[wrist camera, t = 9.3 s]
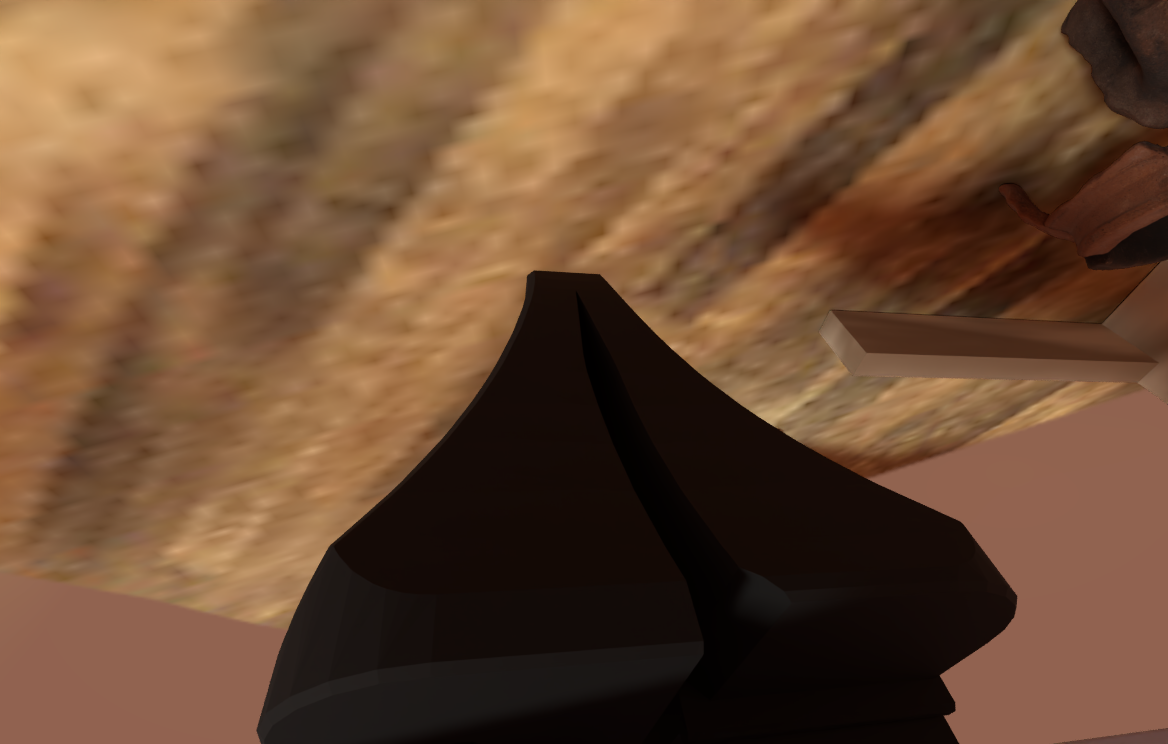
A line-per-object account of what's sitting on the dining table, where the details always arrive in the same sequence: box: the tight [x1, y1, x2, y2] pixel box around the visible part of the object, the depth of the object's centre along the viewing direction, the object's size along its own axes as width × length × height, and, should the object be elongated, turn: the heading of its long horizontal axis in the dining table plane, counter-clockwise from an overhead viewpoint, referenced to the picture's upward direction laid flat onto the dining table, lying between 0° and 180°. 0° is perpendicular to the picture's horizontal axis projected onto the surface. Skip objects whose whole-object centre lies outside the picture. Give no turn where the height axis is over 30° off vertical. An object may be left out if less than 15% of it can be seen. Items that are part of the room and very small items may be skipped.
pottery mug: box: [999, 0, 1168, 270], centre depth 16 cm, size 12×10×8 cm
